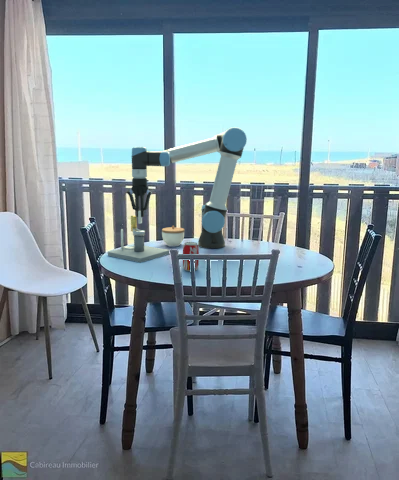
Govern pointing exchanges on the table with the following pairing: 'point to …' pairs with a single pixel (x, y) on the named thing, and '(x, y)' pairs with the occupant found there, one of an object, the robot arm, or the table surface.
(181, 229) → the lidded bowl
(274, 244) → the table surface
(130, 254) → the post board
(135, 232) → the crank handle
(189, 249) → the soda can
